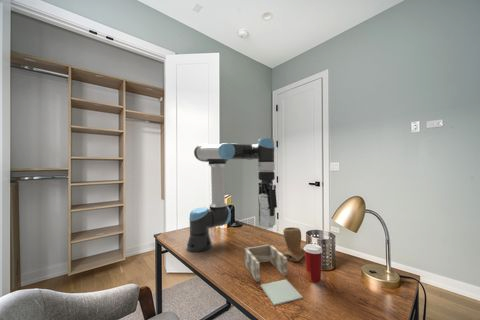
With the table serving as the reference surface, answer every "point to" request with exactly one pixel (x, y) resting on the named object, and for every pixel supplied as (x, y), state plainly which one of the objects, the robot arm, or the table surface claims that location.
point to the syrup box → (264, 211)
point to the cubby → (264, 259)
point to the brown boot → (293, 244)
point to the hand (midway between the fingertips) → (267, 220)
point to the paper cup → (313, 262)
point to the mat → (280, 292)
